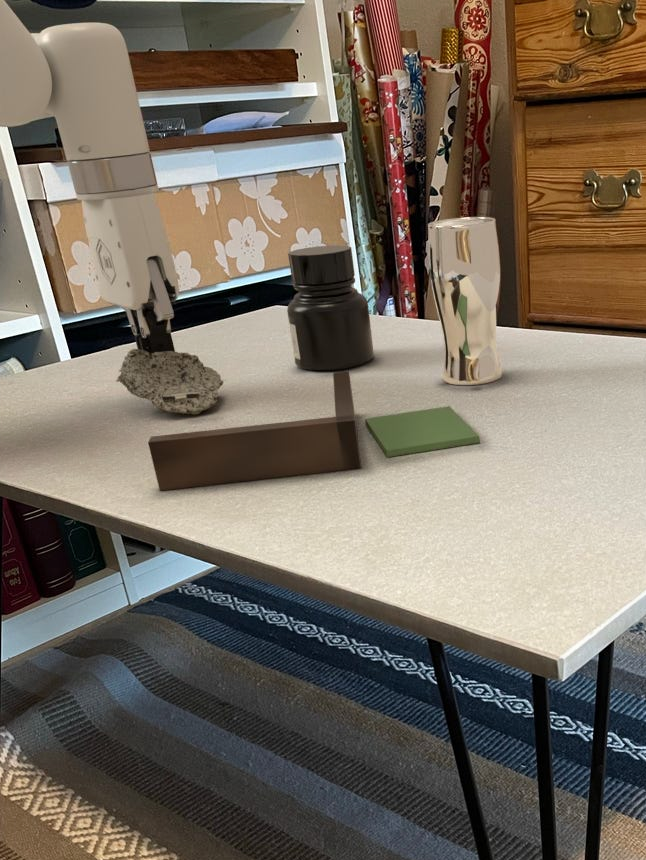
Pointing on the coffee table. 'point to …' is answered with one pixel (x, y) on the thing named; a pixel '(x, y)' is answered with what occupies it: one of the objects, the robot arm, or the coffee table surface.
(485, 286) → the beer glass
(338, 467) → the corner stop
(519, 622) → the coffee table surface
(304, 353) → the ink bottle
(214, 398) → the rock sample
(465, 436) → the green tile
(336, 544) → the coffee table surface
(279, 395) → the coffee table surface
